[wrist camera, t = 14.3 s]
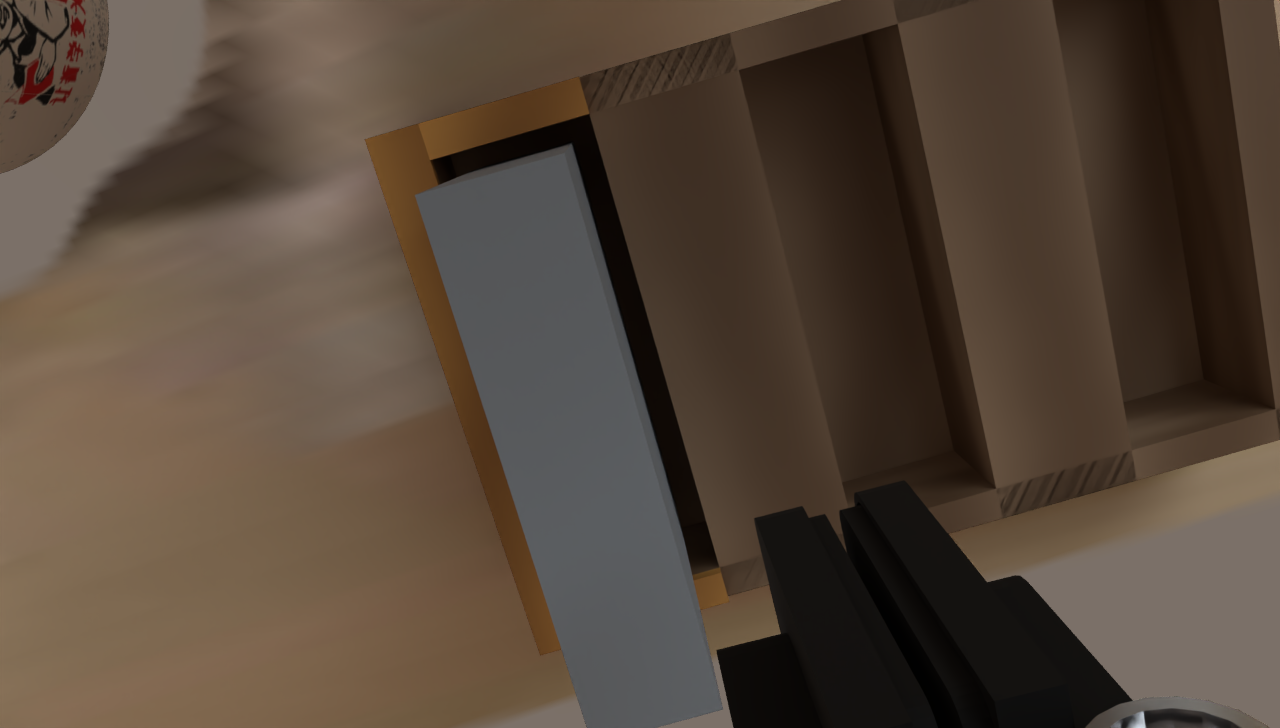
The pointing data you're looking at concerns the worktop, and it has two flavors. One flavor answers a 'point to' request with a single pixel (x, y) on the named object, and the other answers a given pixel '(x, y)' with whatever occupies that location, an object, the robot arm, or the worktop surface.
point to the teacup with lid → (46, 71)
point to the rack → (909, 256)
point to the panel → (574, 435)
